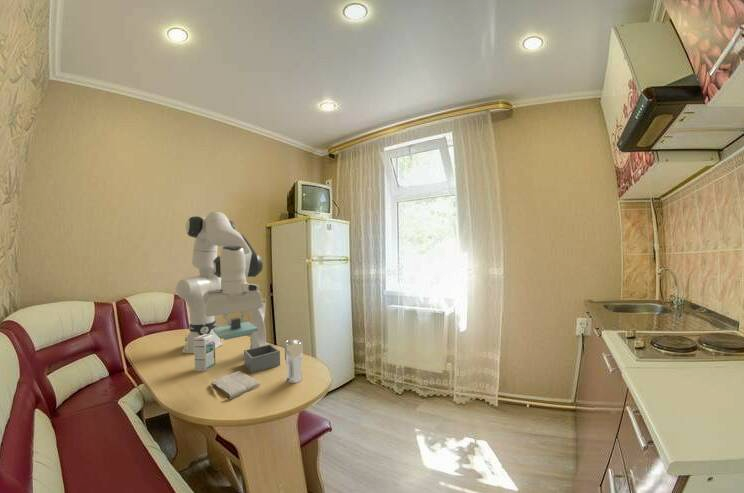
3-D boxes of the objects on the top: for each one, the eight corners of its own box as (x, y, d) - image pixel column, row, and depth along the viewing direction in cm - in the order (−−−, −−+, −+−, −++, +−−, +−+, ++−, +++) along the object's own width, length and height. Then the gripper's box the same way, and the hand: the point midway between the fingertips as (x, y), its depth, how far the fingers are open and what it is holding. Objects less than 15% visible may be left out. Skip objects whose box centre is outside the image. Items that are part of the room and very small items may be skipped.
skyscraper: (268, 351, 143) (266, 297, 143) (267, 357, 136) (266, 299, 136) (250, 354, 141) (249, 298, 141) (248, 360, 133) (247, 301, 133)
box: (244, 366, 125) (243, 350, 125) (271, 358, 133) (270, 344, 133) (251, 375, 116) (251, 358, 116) (280, 366, 123) (279, 351, 123)
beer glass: (284, 377, 113) (283, 340, 113) (302, 374, 115) (301, 338, 115) (286, 385, 106) (285, 346, 106) (305, 381, 109) (304, 343, 109)
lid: (213, 334, 109) (212, 319, 109) (248, 327, 117) (248, 313, 117) (220, 342, 99) (219, 325, 99) (258, 334, 107) (257, 318, 107)
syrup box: (206, 371, 121) (205, 338, 121) (194, 371, 122) (193, 337, 122) (215, 366, 126) (215, 334, 126) (204, 365, 127) (203, 333, 127)
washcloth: (238, 375, 117) (238, 368, 117) (262, 387, 106) (261, 379, 106) (208, 387, 108) (208, 379, 108) (230, 402, 97) (230, 393, 97)
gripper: (204, 292, 99) (205, 331, 99) (263, 285, 112) (264, 320, 111) (201, 290, 104) (202, 327, 104) (258, 284, 116) (259, 317, 116)
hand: (235, 323), depth 108 cm, fingers closed on lid, 3 cm apart
